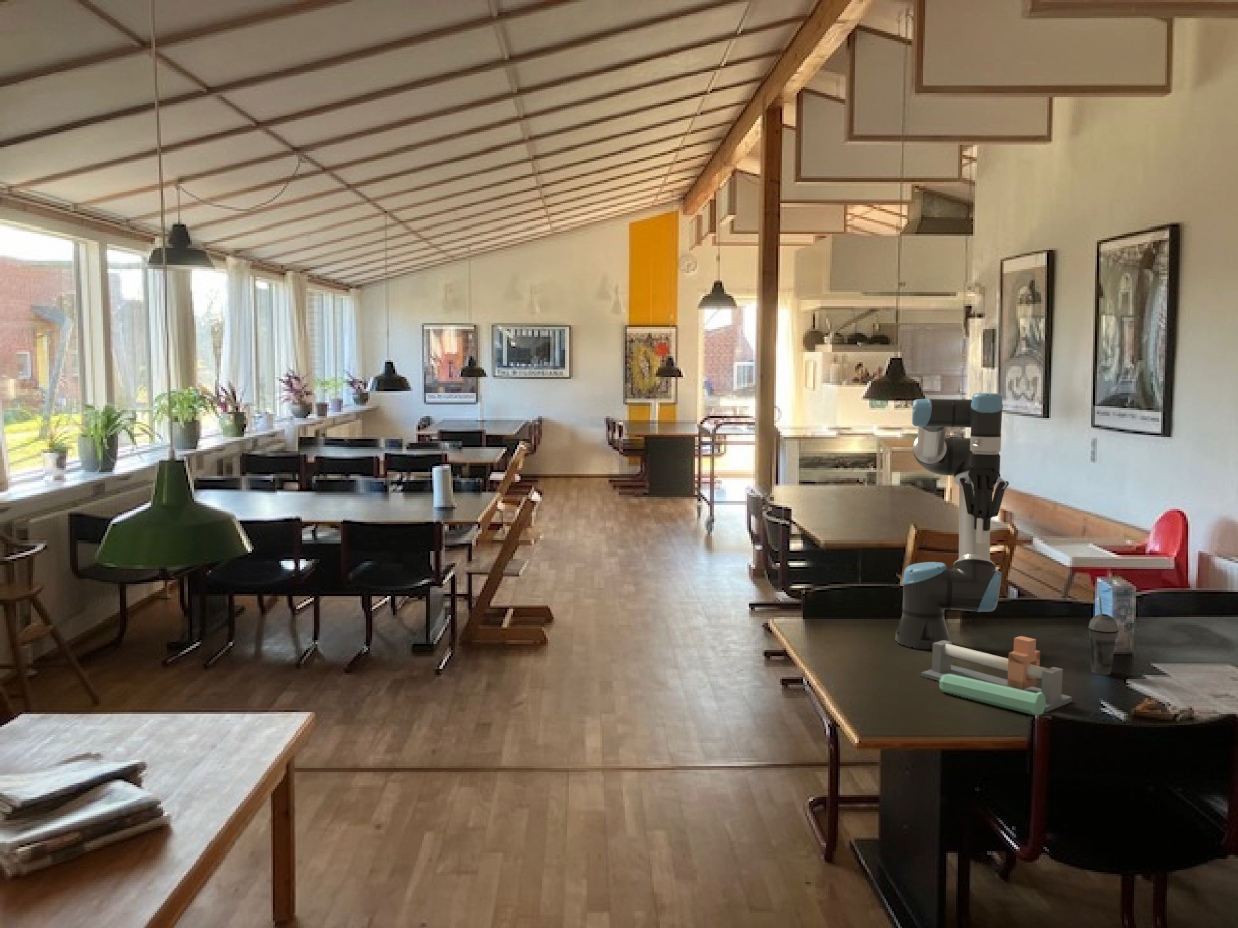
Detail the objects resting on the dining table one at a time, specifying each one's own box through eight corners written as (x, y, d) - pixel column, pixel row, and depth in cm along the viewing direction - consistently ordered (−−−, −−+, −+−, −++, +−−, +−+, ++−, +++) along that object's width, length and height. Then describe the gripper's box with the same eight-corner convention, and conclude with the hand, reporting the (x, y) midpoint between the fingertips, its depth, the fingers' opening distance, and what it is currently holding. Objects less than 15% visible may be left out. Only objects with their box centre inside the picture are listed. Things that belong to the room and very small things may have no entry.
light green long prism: (938, 668, 250) (1037, 690, 231) (949, 672, 254) (1047, 694, 235) (933, 691, 249) (1032, 715, 230) (944, 695, 253) (1042, 719, 234)
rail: (921, 676, 262) (922, 644, 261) (947, 668, 269) (948, 636, 268) (1046, 712, 235) (1047, 676, 235) (1071, 701, 243) (1073, 666, 242)
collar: (1007, 685, 245) (1009, 639, 244) (1023, 679, 250) (1025, 634, 249) (1022, 689, 242) (1024, 643, 241) (1038, 683, 247) (1040, 637, 246)
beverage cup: (1119, 677, 262) (1123, 601, 260) (1089, 675, 264) (1093, 600, 262) (1112, 668, 269) (1115, 595, 267) (1082, 667, 271) (1086, 594, 269)
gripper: (954, 451, 264) (951, 540, 266) (1000, 455, 254) (996, 547, 256) (970, 450, 269) (967, 537, 271) (1016, 453, 259) (1012, 544, 261)
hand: (981, 542), depth 264 cm, fingers closed
